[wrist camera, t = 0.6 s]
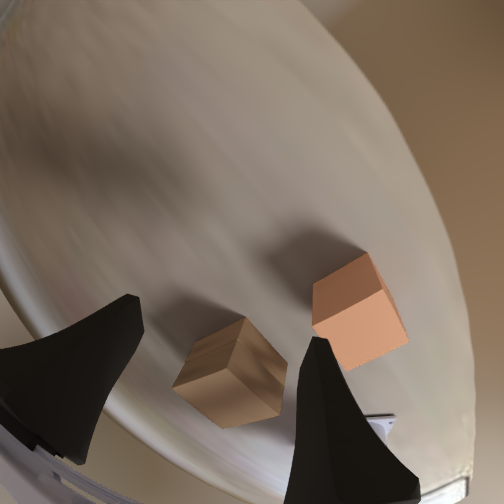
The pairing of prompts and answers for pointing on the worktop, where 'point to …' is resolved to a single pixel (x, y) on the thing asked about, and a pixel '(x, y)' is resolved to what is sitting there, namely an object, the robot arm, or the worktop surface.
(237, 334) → the tower base
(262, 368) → the tower top
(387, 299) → the terracotta block
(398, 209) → the worktop surface
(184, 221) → the worktop surface
